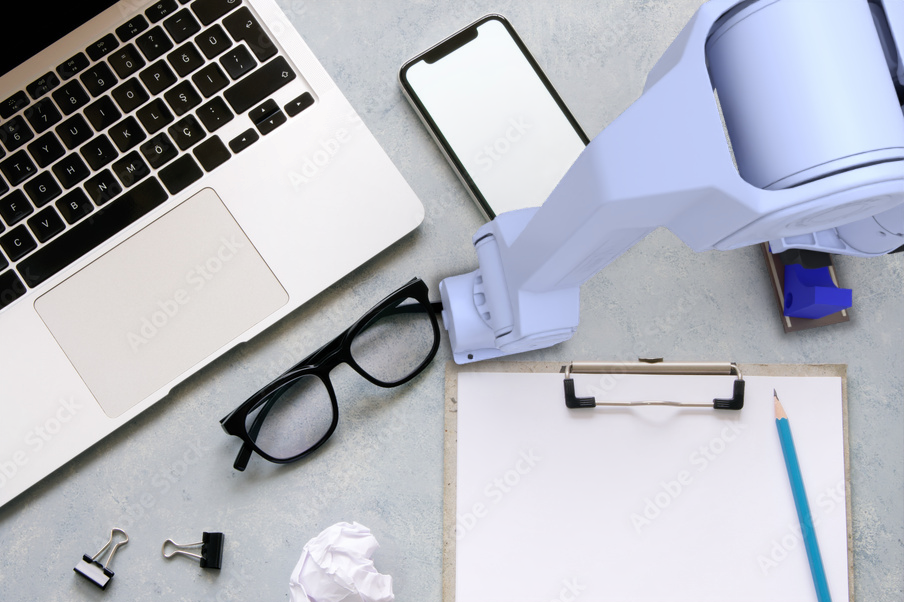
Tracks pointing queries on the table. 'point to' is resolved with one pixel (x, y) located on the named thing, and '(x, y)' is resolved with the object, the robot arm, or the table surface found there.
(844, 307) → the cable clip
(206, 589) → the table surface
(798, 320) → the inlay
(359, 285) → the table surface
